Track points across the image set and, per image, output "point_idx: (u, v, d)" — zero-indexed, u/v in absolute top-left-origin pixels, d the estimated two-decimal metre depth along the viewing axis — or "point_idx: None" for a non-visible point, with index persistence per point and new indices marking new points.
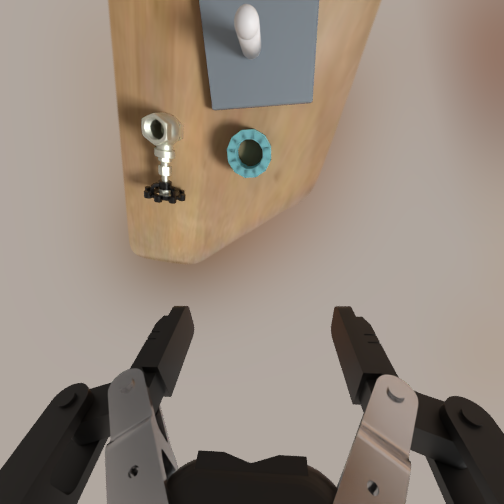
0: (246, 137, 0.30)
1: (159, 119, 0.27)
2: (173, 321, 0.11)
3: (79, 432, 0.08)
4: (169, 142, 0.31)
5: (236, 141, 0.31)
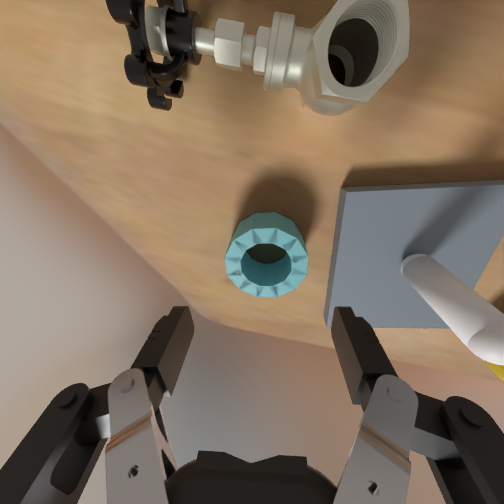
0: (294, 263, 0.17)
1: (385, 75, 0.09)
2: (173, 321, 0.11)
3: (79, 432, 0.08)
4: (308, 85, 0.11)
5: (290, 246, 0.16)
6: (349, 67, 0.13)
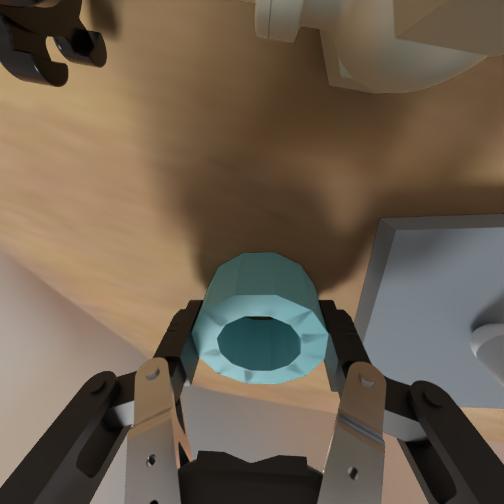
0: (306, 343, 0.10)
1: None
2: (191, 314, 0.11)
3: (105, 418, 0.08)
4: (370, 7, 0.04)
5: (299, 320, 0.09)
6: None
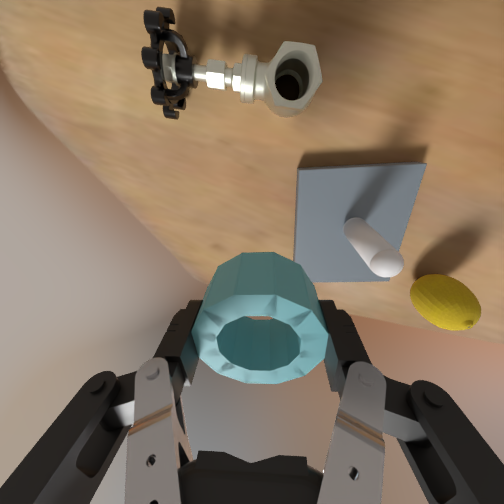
0: (306, 343, 0.10)
1: (310, 93, 0.14)
2: (191, 314, 0.11)
3: (105, 418, 0.08)
4: (269, 99, 0.16)
5: (298, 320, 0.09)
6: (300, 83, 0.18)
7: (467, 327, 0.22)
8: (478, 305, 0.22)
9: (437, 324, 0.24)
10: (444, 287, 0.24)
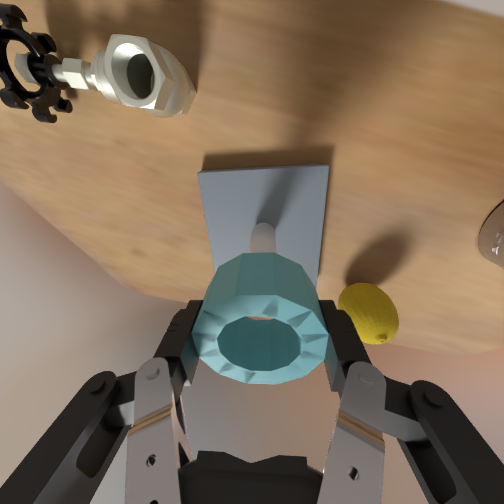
0: (306, 343, 0.10)
1: (156, 90, 0.13)
2: (191, 314, 0.11)
3: (105, 418, 0.08)
4: None
5: (299, 321, 0.09)
6: None
7: (380, 342, 0.20)
8: (393, 318, 0.21)
9: None
10: (362, 297, 0.22)
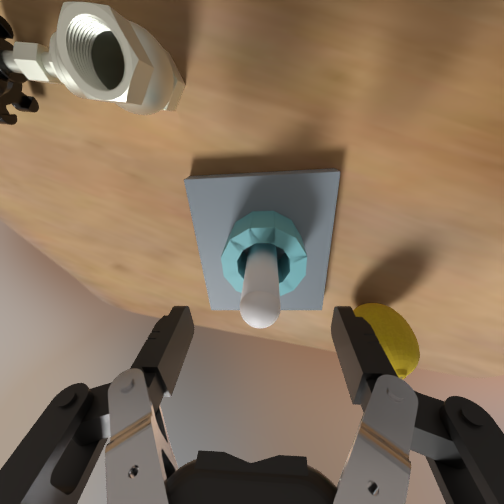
0: (293, 263, 0.16)
1: (127, 77, 0.10)
2: (173, 321, 0.11)
3: (79, 432, 0.08)
4: None
5: (288, 246, 0.15)
6: None
7: (399, 377, 0.17)
8: (414, 349, 0.18)
9: None
10: (376, 323, 0.19)
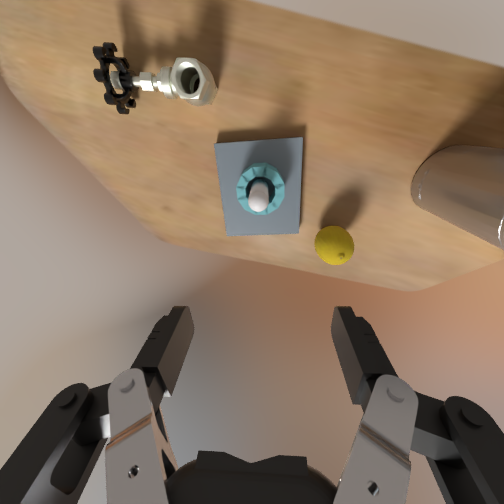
0: (277, 189, 0.29)
1: (200, 88, 0.22)
2: (173, 321, 0.11)
3: (79, 432, 0.08)
4: None
5: (273, 178, 0.28)
6: None
7: (340, 258, 0.30)
8: (349, 242, 0.30)
9: (325, 260, 0.32)
10: (329, 232, 0.32)
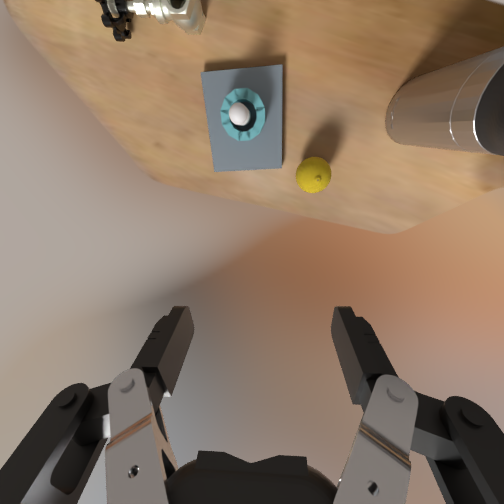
0: (258, 112, 0.31)
1: (187, 2, 0.25)
2: (173, 321, 0.11)
3: (79, 432, 0.08)
4: (172, 15, 0.27)
5: (254, 100, 0.30)
6: None
7: (316, 180, 0.32)
8: (325, 166, 0.32)
9: (304, 187, 0.34)
10: (308, 159, 0.34)
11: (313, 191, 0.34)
